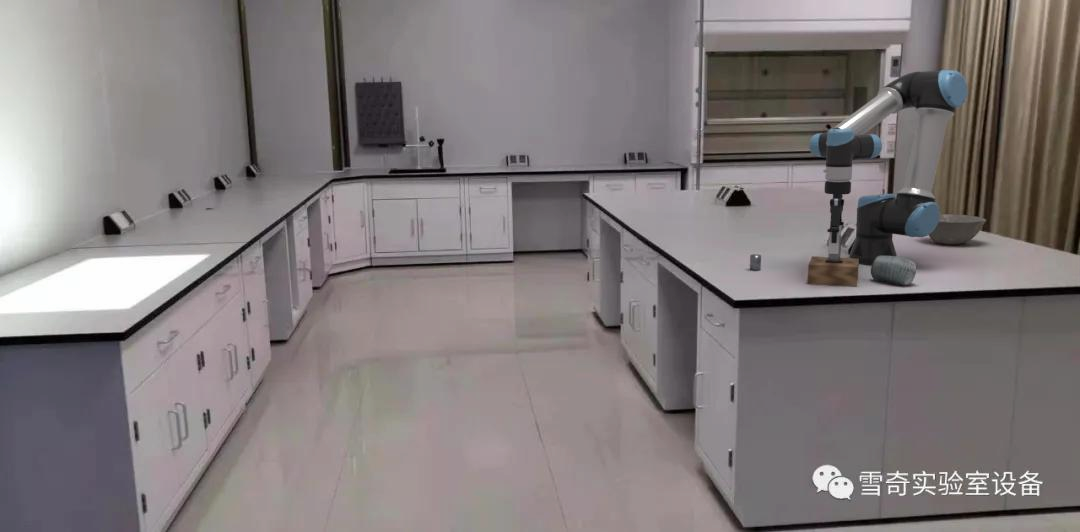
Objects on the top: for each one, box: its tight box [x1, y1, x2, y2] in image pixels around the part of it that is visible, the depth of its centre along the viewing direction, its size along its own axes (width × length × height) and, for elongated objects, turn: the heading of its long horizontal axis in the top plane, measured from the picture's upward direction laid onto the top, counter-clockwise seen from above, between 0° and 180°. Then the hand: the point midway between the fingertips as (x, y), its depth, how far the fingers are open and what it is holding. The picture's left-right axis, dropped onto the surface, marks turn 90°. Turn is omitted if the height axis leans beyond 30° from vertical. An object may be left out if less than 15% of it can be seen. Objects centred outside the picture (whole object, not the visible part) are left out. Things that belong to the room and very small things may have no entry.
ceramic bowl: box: [928, 213, 987, 245], centre depth 311 cm, size 22×23×10 cm
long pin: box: [827, 235, 842, 263], centre depth 252 cm, size 4×4×14 cm
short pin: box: [749, 253, 762, 272], centre depth 271 cm, size 4×4×5 cm
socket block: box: [807, 256, 860, 287], centre depth 252 cm, size 14×14×6 cm
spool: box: [870, 256, 917, 286], centre depth 248 cm, size 14×10×10 cm
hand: (834, 249), depth 251 cm, fingers open, 13 cm apart
